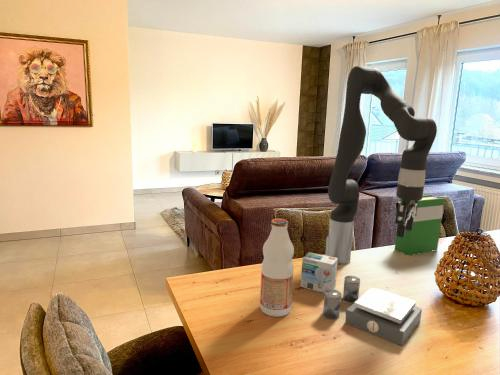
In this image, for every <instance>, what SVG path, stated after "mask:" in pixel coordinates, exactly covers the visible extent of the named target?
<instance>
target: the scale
mask: <svg viewBox="0 0 500 375" xmlns="http://www.w3.org/2000/svg"><path fill="white" fill-rule="evenodd" d="M422 312H423V308H422V307H419V306H416V305H415V307H414V308H413V309H412V310H411V311H410V313H409V314H408V315H407V316H406V317H405V319H404V320H403V321H402V322H401V324H400V323H397V322H394V321H392V320H389V319H386V318H384V317H381V316H378V315H376V314H373V313H370V312H368V311H365V310H363V309H360V308H357V307H355V306H354V303H352V304H351V305H350V306H348V308H346V311H345V320H344V321H345V322H344V323H346V324H349V325H351V326H354V327H355V328H358V329H360V330H363V331H365V332H367V333H370V334H373V335H375V336H377V337H379V338H382V339H385V340H387V341H389V342H392V343H394V344H397V345H399V346H403V345H404V343H405V342H406V341H407V340H408V339H409V337H410V336H411V335H412V333H413V332H414V330H415V329H416V327H417V326H418V325H419V323H420V322H421V319H422Z"/></svg>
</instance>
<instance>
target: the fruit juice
mask: <svg viewBox="0 0 500 375" xmlns="http://www.w3.org/2000/svg"><path fill="white" fill-rule="evenodd" d="M270 224H271V225H270V226H271V230H270V232H269V236H268V237H267V239H266V241H265V242H264V243H263V247H262V254H263V260H262V264H261V276H260V296H259V297H260V300H259V307H260V311H261V312H262V313H263V314H265V315H267V316H270V317H275V318H276V317H277V318H280V317H285V316H287V315H288V314H290V312H291V310H292V301H293V298H292V297H293V296H292V295H293V285H294V284H293V283H294V282H293V281H294V262H293V258H294V255H295V254H294V253H295V248H294V244H293V243H292V241H291V239H290V235H289V231H288V227H289V221H288V219H285V218H273V219H272V220H271V222H270Z"/></svg>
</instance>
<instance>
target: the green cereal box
mask: <svg viewBox="0 0 500 375" xmlns="http://www.w3.org/2000/svg"><path fill="white" fill-rule="evenodd" d="M445 199H446V198H445V197H439V198H437V197H434V196H433V194H425V195H424V194H423V197H422V199H421V200H419V201H418V207H417V215H416V216H415V219H413V220H414V221H413V228H412V230H411V231H409V230H405V235H404V237H398V236H397V235H395V236H396V237H395V243H394V245H395V246H394V250H395V251H396V250H397V252H399V253H401V252H402V253H401V254H403V253H404V254H403V255H405V254H406V255H405V256H407V255H409V256H414V255H413V254H415V255H419V254H418V253H421V254H424V253H423V252H427V253H429V252H428V251H432V250H437V251H438V249H439V248H438V247H439V240H440V233H441V225H442V219H443V213H444V212H443V211H444V204H445ZM399 203H400V204H401V203H402V199H401V198H400V201H399ZM400 204H399V205H400ZM401 213H402V212H401ZM400 221H402V219H401V220H400ZM432 252H433V251H432Z"/></svg>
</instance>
